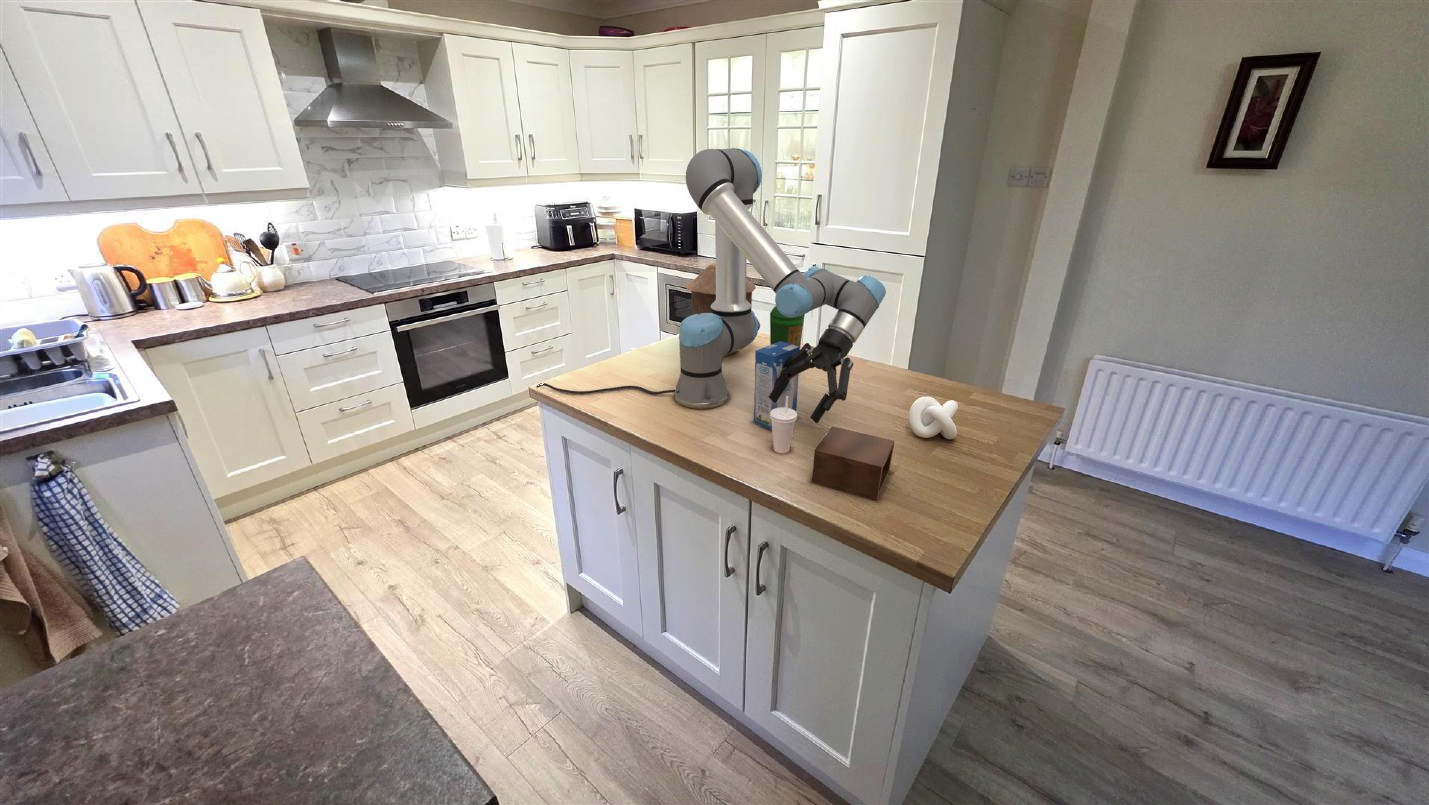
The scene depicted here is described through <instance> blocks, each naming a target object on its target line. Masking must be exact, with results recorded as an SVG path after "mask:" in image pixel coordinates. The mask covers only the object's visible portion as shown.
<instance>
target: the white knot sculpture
mask: <svg viewBox="0 0 1429 805" xmlns="http://www.w3.org/2000/svg"><path fill="white" fill-rule="evenodd" d="M958 409H959V404H958V402H957V401H956V400H951V399H950V400H948V401H945V403H943V404H942V405H941V403H940V402H939V401H938V400H937V399H935V397H932V396H921V397H919V398H917V399H916V400H915V401H914V402H913V403H912V405H911V406H910V409H909V411H908V424H909V426H910V429H911V431H912V433H914V434H915V435H916V436H918V437H920V438H924V439H928V438H929V439H930V438H933V437H935V436H937V435H938V434H941V436H942V437H943V438H945V439H946V440H953V439H955V438H956V437H957V435H958V429H957V427H956V424H955V423H954V422H955V421H953V419H952V418H953V417H954V415H955V414H956V412H957V411H958Z"/></svg>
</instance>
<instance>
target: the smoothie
mask: <svg viewBox="0 0 1429 805" xmlns="http://www.w3.org/2000/svg"><path fill="white" fill-rule="evenodd" d="M770 418H771V422H772V430H771V432H772V433H771V434H772V444H773V450H774V452H776V453H778V454H787V453H789V451H790V448H791V444H792V439H793V434H794V429H795V425H796V421H797V420H798V412H797V410H796V411H794V410H793V409H790V408H788V396H786V405H785V408H783V407H781V408H775V409H773V410H771V412H770Z"/></svg>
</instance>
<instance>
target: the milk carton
mask: <svg viewBox="0 0 1429 805" xmlns="http://www.w3.org/2000/svg"><path fill="white" fill-rule="evenodd" d="M799 350H801V346H800V347H799V346H796V345H792V344H788V343H785V342H781V341H780V342H777V343H775V344H772V345H770V344H769V345H767V346H763V347H761V348H758V349H755V350H754V351H755V352H754V359H755V360H754V396H753V397H754V399H753V400H754V402H753V404H754V406H753V423H754V424H756V425H758V426H760V427H763V428H766V429H767V430H770V431H772V422H771V418H770V412H771V410H773V409H775V408H781V407H783V408H785V405H786V396H788V408H790V409H793V410H794V411H796V412H797V407H798V388H799V386H798V385H799V374H797V375H795V376H793V377H791V378H789V381H790V382H789V384H788V385H787V387H786V388H785V390H784V391H783V393H782V394H781V396H780V397H779V399H778V400H777V402H776V403H774V402H773V401H772V400H771V399H770V398H769V397H768V396H769V395H770V393H771V392H772V390H773V389H774V387H775V386H774V385H775V382H776V381H777V379H778V378H779V376H780V373H781V371H782V367H783V365H784V363H785V361H786V360H787V359H789V358H790V357H791V356H793V355H794V354H795V353H797V352H798V351H799ZM787 367H788V366H786V367H785V368H783V369H786V368H787Z"/></svg>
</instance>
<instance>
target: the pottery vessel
mask: <svg viewBox="0 0 1429 805" xmlns="http://www.w3.org/2000/svg"><path fill="white" fill-rule="evenodd" d="M685 288H686V289H687V290H688V291H690V296H691V316H692V315H695V314H701V313H711V304H712V303H713V302H714V301H715V300H716V262H712V263H710V264H708V266H706V267H705V268H704V269H703V270H702V271H701V272H700V273H699V274H698V275H697V276H696V277H695V278H694V279H693V280H691V281H690V282H688V283H686V285H685ZM756 288H757V286H756V284H754V283H752V282H751V281H749V279H748V278H746V300H747V301H748V302H749V303H750V304H751V310H753V309H752V308H753V306H752V304H753V292H754V291H755V290H757V289H756ZM757 320H758V331H760V328H761V323H760V321H759V319H758V318H757ZM736 352H737V351H735V352H733V353H730V354H729V355H732V354H735V353H736Z"/></svg>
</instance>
